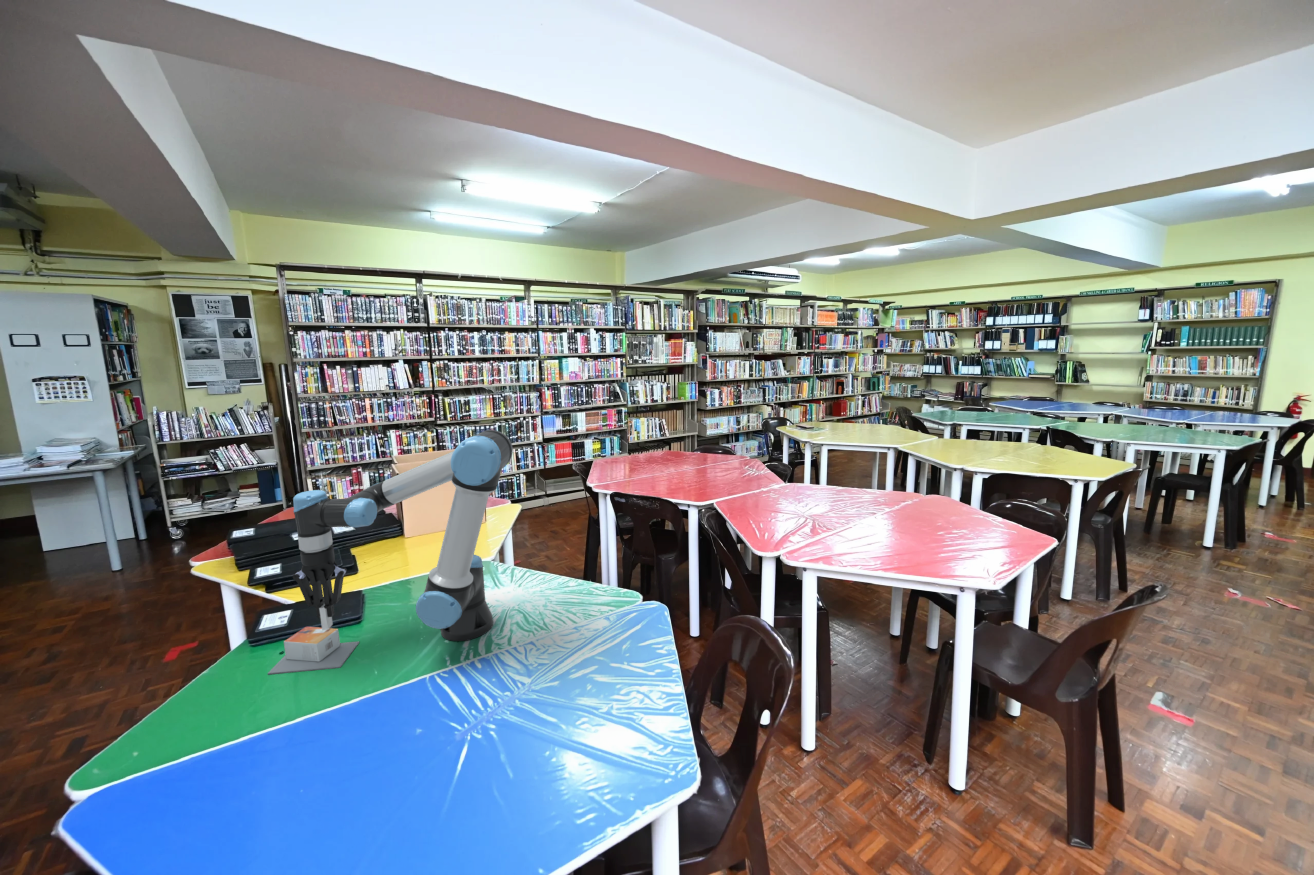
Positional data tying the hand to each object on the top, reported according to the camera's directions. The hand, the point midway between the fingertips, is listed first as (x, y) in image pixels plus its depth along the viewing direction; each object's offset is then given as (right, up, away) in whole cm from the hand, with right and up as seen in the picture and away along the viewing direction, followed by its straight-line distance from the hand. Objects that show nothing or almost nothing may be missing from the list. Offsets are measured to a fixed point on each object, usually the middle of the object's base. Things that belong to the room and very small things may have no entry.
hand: (327, 627), depth 140 cm
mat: (-4, -9, +1) cm, 10 cm away
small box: (0, -6, +2) cm, 6 cm away
